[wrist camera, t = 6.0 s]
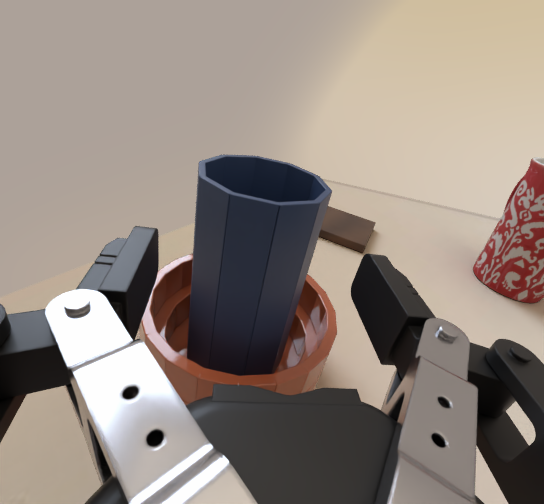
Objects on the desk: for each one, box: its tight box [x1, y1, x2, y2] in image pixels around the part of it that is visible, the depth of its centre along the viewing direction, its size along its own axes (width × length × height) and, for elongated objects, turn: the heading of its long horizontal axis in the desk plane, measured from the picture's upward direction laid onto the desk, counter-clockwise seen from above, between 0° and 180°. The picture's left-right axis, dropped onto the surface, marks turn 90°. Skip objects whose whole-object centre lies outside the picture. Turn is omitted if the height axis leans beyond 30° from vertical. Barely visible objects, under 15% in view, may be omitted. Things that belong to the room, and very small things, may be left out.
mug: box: [473, 158, 544, 303], centre depth 35 cm, size 13×9×14 cm
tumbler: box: [187, 155, 332, 376], centre depth 18 cm, size 6×6×12 cm
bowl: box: [139, 254, 337, 405], centre depth 20 cm, size 11×11×5 cm
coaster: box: [319, 206, 375, 253], centre depth 41 cm, size 8×8×1 cm
